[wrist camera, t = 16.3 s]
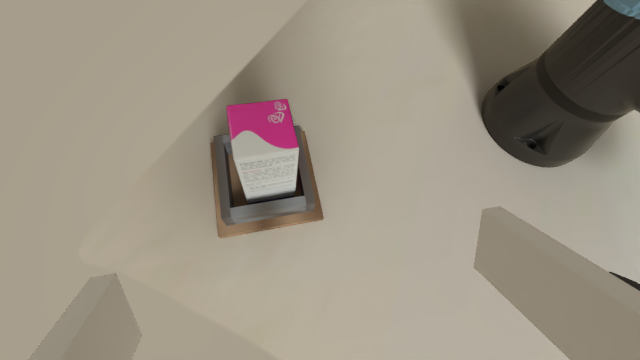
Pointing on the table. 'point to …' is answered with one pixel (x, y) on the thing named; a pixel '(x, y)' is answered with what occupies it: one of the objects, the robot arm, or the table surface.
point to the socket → (264, 215)
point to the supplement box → (264, 149)
